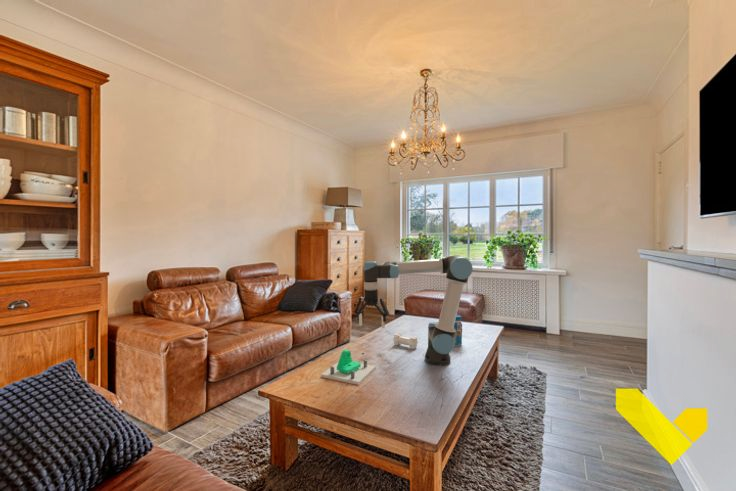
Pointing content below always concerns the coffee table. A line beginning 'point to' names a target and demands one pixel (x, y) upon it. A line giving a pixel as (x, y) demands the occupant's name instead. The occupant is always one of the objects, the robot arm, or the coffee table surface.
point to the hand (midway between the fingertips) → (371, 326)
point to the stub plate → (352, 377)
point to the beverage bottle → (458, 331)
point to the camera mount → (347, 362)
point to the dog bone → (405, 341)
